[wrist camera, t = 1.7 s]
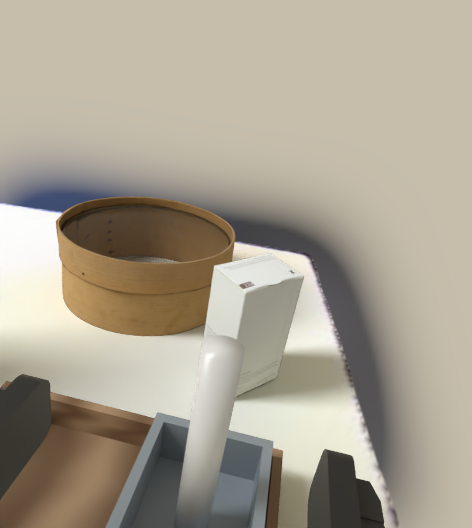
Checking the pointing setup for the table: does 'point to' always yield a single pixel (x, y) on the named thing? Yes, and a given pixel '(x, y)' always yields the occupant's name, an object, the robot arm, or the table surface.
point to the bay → (88, 468)
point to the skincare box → (254, 312)
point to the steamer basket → (141, 263)
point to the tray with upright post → (200, 459)
